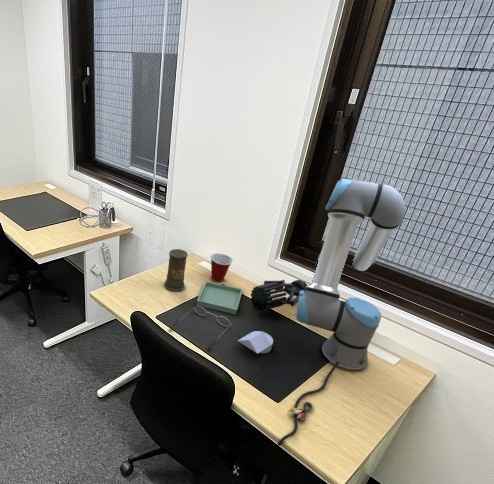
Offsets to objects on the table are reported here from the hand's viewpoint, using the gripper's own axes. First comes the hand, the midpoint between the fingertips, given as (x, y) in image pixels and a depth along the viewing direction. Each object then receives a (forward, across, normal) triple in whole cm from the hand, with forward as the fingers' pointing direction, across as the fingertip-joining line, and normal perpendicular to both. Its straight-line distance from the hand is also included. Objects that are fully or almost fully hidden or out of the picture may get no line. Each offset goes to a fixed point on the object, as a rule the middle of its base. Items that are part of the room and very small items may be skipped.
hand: (263, 296), depth 162 cm
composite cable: (+24, -49, -9) cm, 56 cm away
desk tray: (+11, +15, -8) cm, 20 cm away
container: (+25, +32, -8) cm, 41 cm away
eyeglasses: (+31, -1, -9) cm, 32 cm away
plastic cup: (+1, +30, -8) cm, 32 cm away
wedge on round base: (+17, -18, -9) cm, 26 cm away
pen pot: (-3, 0, -6) cm, 7 cm away
